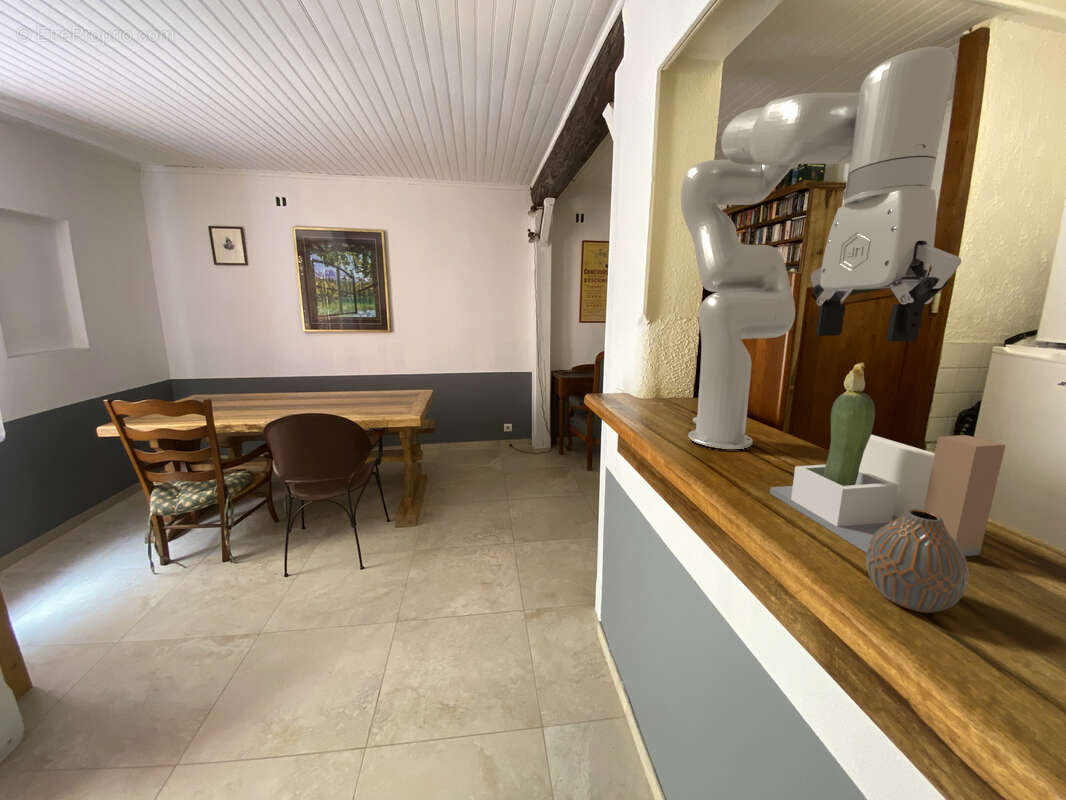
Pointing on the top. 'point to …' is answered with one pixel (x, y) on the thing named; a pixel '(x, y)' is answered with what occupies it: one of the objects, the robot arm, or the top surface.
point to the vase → (917, 563)
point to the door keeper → (904, 489)
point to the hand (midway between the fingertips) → (861, 337)
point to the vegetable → (849, 429)
